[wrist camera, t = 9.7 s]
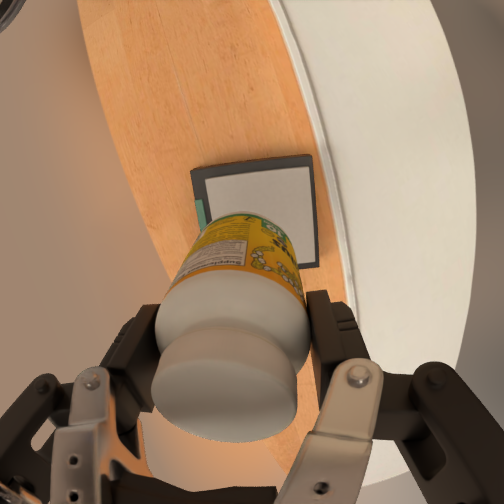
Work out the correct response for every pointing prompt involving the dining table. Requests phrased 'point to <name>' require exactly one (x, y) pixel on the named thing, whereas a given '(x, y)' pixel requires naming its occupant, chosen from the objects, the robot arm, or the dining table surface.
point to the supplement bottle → (233, 333)
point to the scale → (264, 197)
